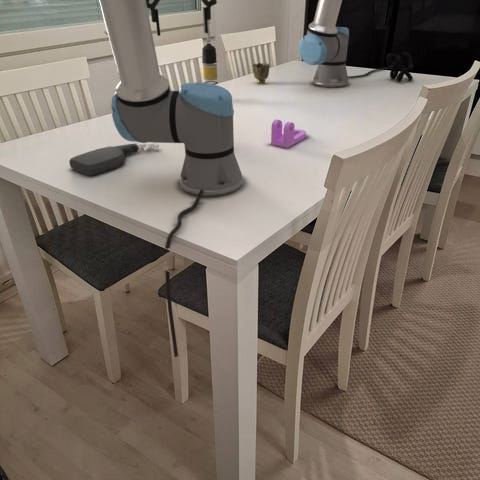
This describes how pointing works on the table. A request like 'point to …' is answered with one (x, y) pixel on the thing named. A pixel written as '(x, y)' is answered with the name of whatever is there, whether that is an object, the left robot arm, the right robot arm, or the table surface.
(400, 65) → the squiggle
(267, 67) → the cup
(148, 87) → the left robot arm
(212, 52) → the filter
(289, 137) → the bracket
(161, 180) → the table surface
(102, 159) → the spray bottle
